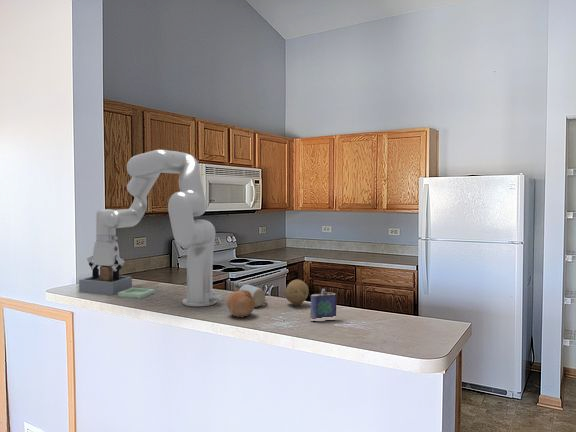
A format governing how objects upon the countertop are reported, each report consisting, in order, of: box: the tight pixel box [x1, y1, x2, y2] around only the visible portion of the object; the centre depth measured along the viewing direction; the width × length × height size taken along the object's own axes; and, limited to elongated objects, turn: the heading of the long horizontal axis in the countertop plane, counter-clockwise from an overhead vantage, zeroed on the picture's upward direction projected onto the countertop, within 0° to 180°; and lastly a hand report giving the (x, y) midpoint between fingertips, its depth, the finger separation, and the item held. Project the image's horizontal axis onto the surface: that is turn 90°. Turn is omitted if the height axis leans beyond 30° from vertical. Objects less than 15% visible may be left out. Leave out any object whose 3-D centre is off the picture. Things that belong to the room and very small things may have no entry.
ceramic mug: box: [238, 283, 268, 308], centre depth 172 cm, size 11×8×8 cm
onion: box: [226, 290, 255, 318], centre depth 156 cm, size 10×9×10 cm
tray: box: [117, 287, 155, 300], centre depth 183 cm, size 10×10×2 cm
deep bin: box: [78, 273, 133, 296], centre depth 191 cm, size 16×13×5 cm
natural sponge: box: [284, 279, 310, 306], centre depth 172 cm, size 9×9×10 cm
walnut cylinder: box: [99, 266, 113, 282], centre depth 191 cm, size 5×5×10 cm
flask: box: [309, 288, 338, 319], centre depth 153 cm, size 9×3×11 cm, turn 109°
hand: (105, 279), depth 191 cm, fingers open, 9 cm apart
